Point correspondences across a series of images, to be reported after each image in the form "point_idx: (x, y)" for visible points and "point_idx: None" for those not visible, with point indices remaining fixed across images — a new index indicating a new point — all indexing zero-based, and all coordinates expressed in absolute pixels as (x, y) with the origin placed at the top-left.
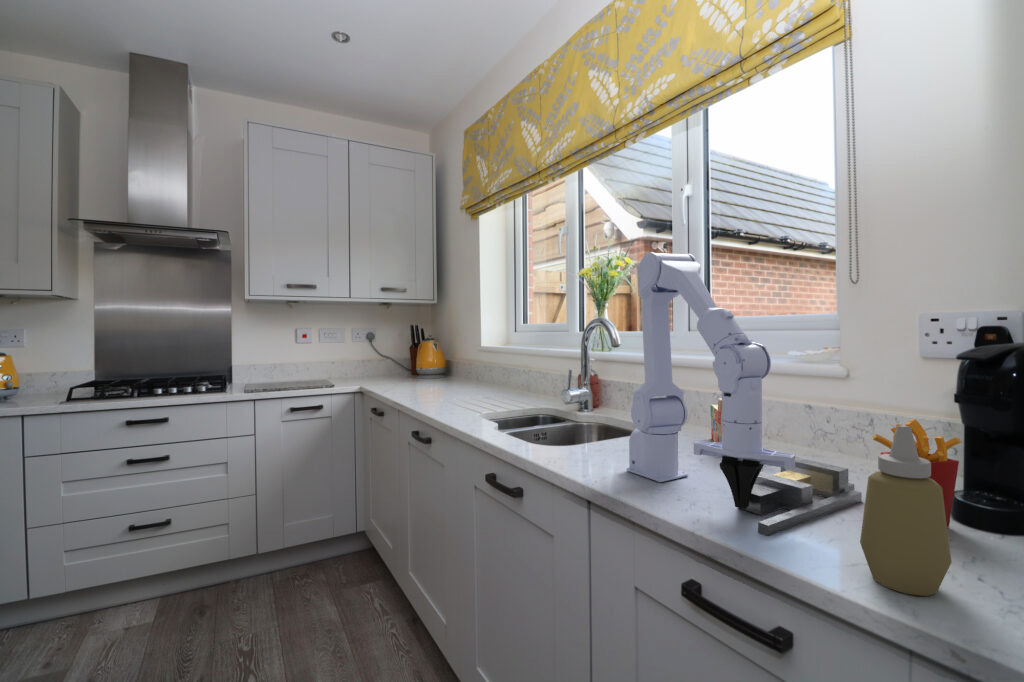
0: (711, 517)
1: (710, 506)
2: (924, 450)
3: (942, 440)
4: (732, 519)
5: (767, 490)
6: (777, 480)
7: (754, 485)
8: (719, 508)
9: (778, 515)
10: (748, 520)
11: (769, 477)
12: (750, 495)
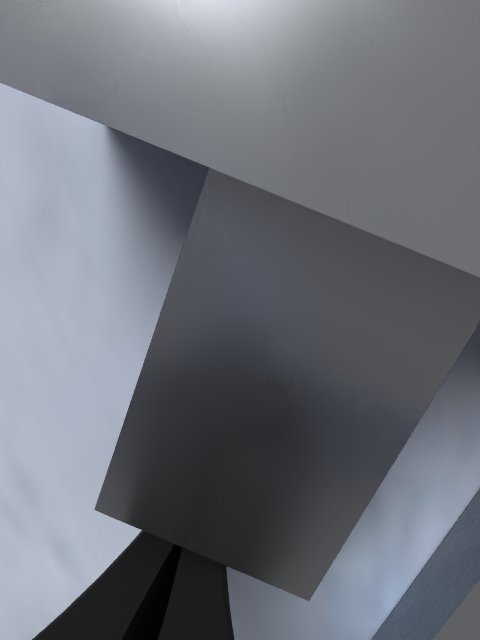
0: None
1: (24, 467)
2: None
3: None
4: None
5: (341, 419)
6: (459, 192)
7: (187, 312)
8: (75, 473)
9: (441, 633)
10: None
11: (325, 91)
12: (225, 565)
